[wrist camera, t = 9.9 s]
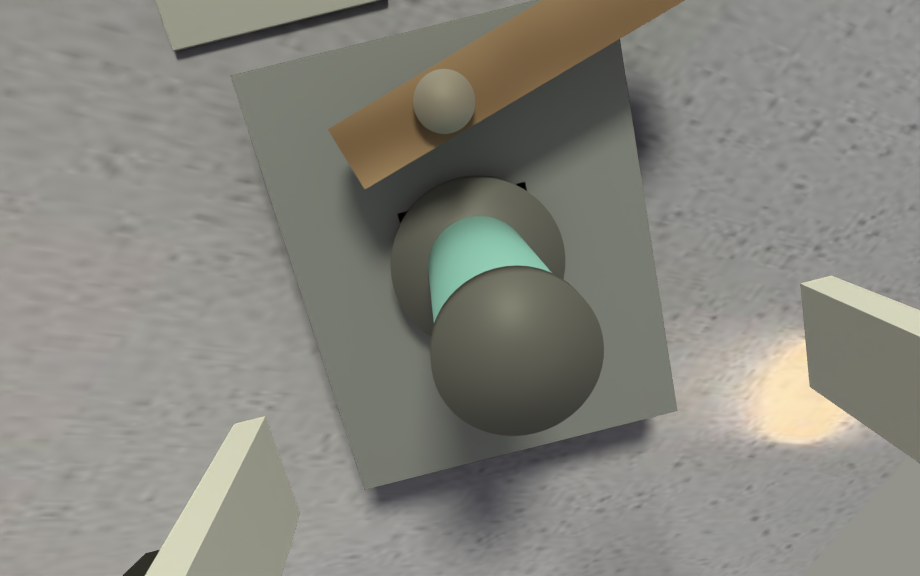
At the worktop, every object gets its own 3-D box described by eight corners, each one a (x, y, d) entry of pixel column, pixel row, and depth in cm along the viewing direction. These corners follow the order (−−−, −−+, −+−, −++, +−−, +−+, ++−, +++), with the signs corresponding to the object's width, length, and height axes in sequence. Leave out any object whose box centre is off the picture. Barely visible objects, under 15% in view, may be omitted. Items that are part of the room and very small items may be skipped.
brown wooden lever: (338, 126, 27) (325, 130, 22) (672, -75, 25) (723, -110, 21) (370, 178, 27) (363, 191, 23) (697, -15, 26) (751, -38, 22)
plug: (414, 327, 34) (418, 506, 19) (376, 187, 32) (344, 260, 16) (554, 293, 34) (671, 443, 19) (525, 150, 32) (630, 188, 16)
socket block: (369, 448, 35) (364, 489, 32) (253, 80, 30) (230, 75, 26) (648, 378, 36) (677, 410, 32) (585, -3, 30) (611, -19, 26)
